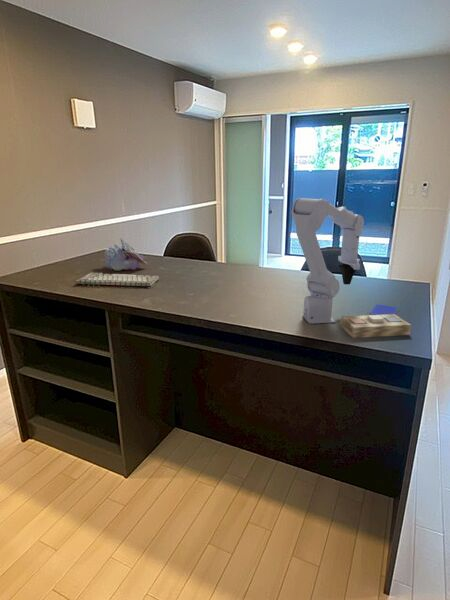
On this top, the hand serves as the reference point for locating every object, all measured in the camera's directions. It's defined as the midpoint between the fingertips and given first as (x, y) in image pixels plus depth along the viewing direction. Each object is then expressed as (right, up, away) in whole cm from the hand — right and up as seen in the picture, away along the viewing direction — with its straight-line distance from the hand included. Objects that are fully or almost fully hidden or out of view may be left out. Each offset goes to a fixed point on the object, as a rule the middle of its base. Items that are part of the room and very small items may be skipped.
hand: (346, 283), depth 143 cm
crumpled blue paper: (-100, +11, +70) cm, 123 cm away
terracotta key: (-2, -15, -17) cm, 23 cm away
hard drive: (+14, -11, +1) cm, 18 cm away
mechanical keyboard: (-97, +2, +43) cm, 106 cm away
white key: (+4, -14, -17) cm, 22 cm away
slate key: (+10, -14, -15) cm, 23 cm away
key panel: (+4, -16, -16) cm, 23 cm away
